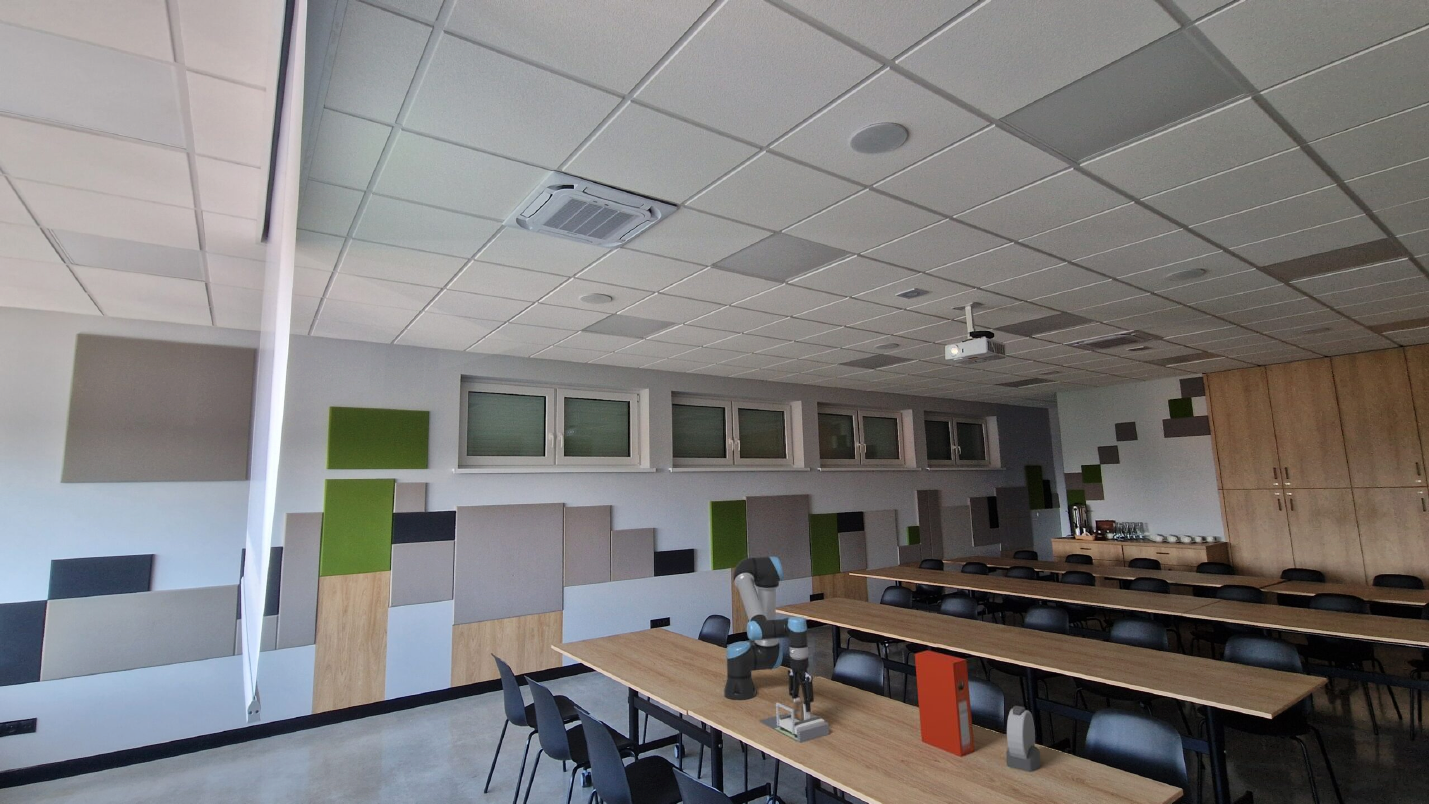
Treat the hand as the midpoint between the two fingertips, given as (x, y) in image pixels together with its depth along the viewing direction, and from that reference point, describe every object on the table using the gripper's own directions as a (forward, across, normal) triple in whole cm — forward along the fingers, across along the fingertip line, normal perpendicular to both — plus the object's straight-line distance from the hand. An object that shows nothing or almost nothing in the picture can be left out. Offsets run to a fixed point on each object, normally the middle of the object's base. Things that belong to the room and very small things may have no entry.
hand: (802, 717), depth 251 cm
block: (0, 0, 0) cm, 0 cm away
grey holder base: (+5, -6, -1) cm, 8 cm away
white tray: (+5, 0, -1) cm, 5 cm away
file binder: (+6, +42, +34) cm, 55 cm away
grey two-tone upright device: (+6, +66, +44) cm, 80 cm away
